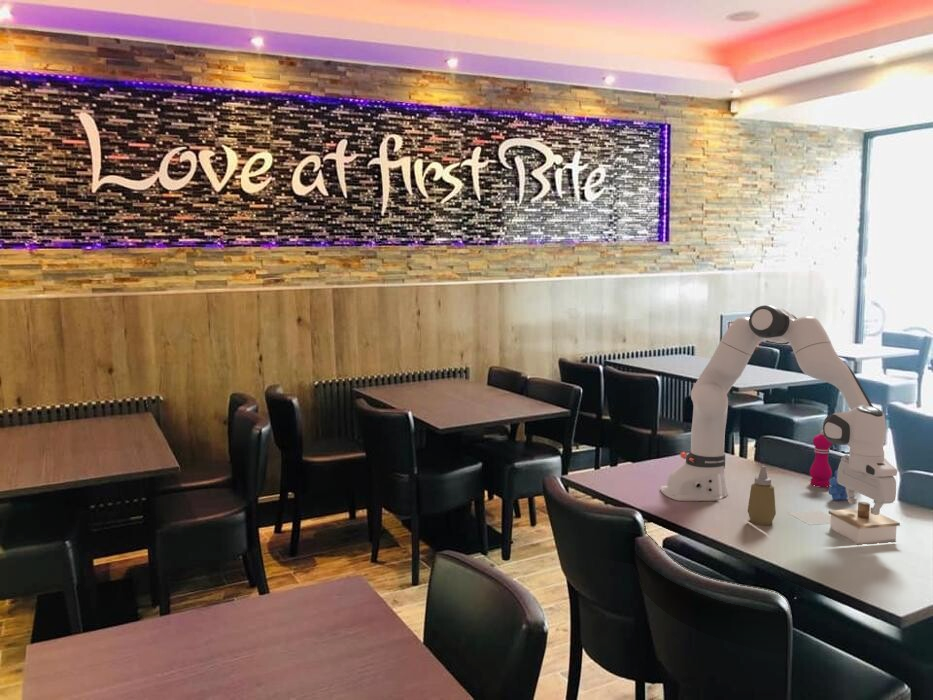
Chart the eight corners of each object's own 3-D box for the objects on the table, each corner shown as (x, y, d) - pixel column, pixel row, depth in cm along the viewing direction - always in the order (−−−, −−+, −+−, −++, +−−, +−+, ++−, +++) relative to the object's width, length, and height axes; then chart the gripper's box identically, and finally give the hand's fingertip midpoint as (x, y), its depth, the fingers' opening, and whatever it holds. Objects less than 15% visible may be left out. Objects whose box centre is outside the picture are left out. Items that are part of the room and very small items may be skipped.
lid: (858, 528, 204) (859, 512, 204) (828, 513, 217) (829, 497, 217) (899, 525, 207) (900, 509, 206) (867, 510, 219) (868, 495, 219)
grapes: (844, 494, 249) (846, 460, 248) (861, 500, 243) (863, 466, 241) (818, 498, 245) (820, 464, 244) (834, 505, 239) (836, 469, 238)
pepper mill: (833, 488, 256) (836, 433, 254) (812, 487, 258) (814, 432, 255) (828, 482, 263) (830, 428, 261) (806, 481, 265) (809, 427, 262)
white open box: (857, 545, 206) (858, 528, 205) (830, 529, 217) (831, 513, 217) (895, 542, 207) (896, 525, 207) (866, 527, 219) (866, 511, 219)
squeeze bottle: (762, 529, 218) (765, 471, 216) (741, 521, 225) (743, 465, 223) (781, 525, 222) (783, 468, 219) (759, 517, 229) (761, 461, 227)
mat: (809, 526, 220) (809, 524, 220) (787, 514, 231) (787, 512, 231) (841, 524, 222) (842, 522, 222) (818, 512, 233) (818, 510, 232)
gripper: (832, 453, 219) (830, 497, 221) (881, 473, 199) (878, 521, 201) (851, 452, 220) (848, 496, 222) (901, 471, 200) (898, 519, 202)
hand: (863, 508), depth 211 cm, fingers open, 8 cm apart
